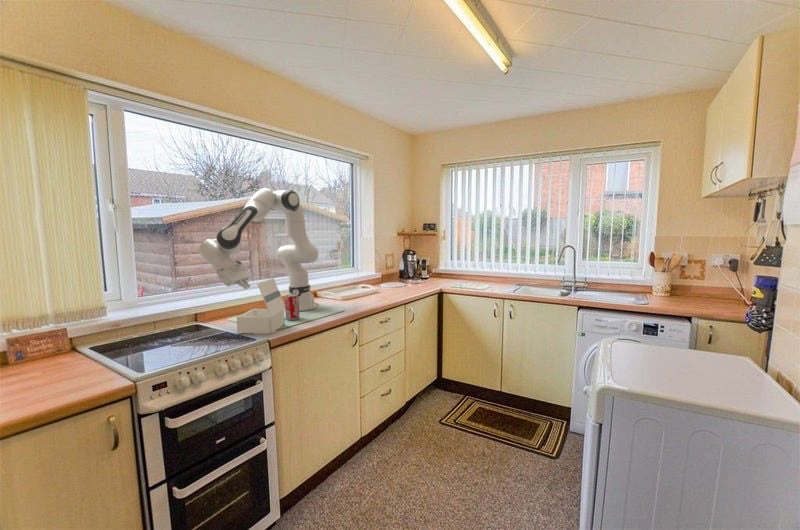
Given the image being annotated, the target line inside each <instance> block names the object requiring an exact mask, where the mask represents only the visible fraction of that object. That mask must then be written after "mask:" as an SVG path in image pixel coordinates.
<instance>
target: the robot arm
mask: <svg viewBox="0 0 800 530" xmlns="http://www.w3.org/2000/svg"><path fill="white" fill-rule="evenodd" d="M270 211H283V214H284V222H285V233H286V236H287V237H288V238H289V239H291V240H292V242H293V243H294V244H286V245H282V246H280V247H278V249H277V252H276V253H277V254H276V255H277V258H278V260H279V261H280V262H282V264H283V265H284V266H285V268H286V271H287V274H288V280H289V282H288V283H289V286H288V292H289V293H288V294H287V295H289V294H297V296H298V299H299V312H302V311H304V312H305V311H309V310H310V311H311V310H315V309H316V308H317V306H318V304H319V303H318V301H315V298H314V297H315V296H314V295H313V293H312V292H311V284H309V273H308V271H307V270H306V269H304V268H303V266H302V265H301V264H310V263H314V262H316V261H317V260H318V258H319V250H318V248H317V247H316V246H315V245H314V244H312V243H311V241H310V240H309V237H308V236H307V235H308V234H307V231H306V221H305V213H304V210H303V206H302V204H300V197H299V195H298V193H297V192H296V191H294V190H291V189H287V190H286V189H279V190H275V191H273V190H271V189H270V188H267V187H263V188H261V189H260V188H259V190H258V191H257V192H255V193H254V194H253V195H252V196H251V198H250V199H249V200H248V202H247V203H246V204H245V206H244V207H243V209H242V210H241V211H240V212H239V213H238V214H237V216H235V218H234V219H233V220H232V221H231V222H230V223H229V224H228V225H226V226H224V227H222V228H221V229H219V231H218V232H217V234H216V238H214V239H205V240H204V241H203V242H202V243H201V244H200V245H199V247H198V253H199V254H200V256H201V257H202V258H203V260H204V261H206V262H207V263H208V264H209V265H211V266H212V267H213V269H214V270H215V271H216V274H217V276H218V279H219V280H220V281H221V282H222V283H223V284H224V286H227V287H231V286H234V285H238V286H240V287H242V288H243V289H244V290H248V289H250V288H251V285H250V283H249V282H248V281H250V280H251V279H252V277H253V274H252V272H251V271H250V270H249V269H248V268H247V267H246V266H245V265H243V263H242V261H240V260H236V259H233V257H235V256H237V255H238V254H239V253H240V252H241V250H242V242H241V241H242V233H243V232H244V231H245V229H246V228H247V227H248V226H249V224H250V223H252V222H255V223H257V222H261V221H263V220H264V219H265V218H266V217H267V216H268V214H269V213H270Z"/></svg>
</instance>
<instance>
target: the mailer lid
mask: <svg viewBox="0 0 800 530" xmlns="http://www.w3.org/2000/svg"><path fill="white" fill-rule="evenodd" d="M256 285H257V287H258V289H259V291H260V294H261V295H262V296H261V297H262V299H263V300H264V301H263V302H264V303H265V306H266V309H268V311H269V314H270V316H273V315H274V314H276V313H278V312H279V311H281V310H283V309H284V310H285V308H286V307H285V301H284V300H283V297H282V295H281V293H280V291H279V289H278V285H277V283H276V281H275V278H270V279H267V280H264V281H261V282H259V283H257V284H256Z"/></svg>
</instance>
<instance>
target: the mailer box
mask: <svg viewBox="0 0 800 530" xmlns="http://www.w3.org/2000/svg"><path fill="white" fill-rule="evenodd" d="M236 324H237V325H236V327H237V333H238V332H241V333H253V334H252V335H272V334H273V333H275V332H276V331H277V329H278V328H279V329H280V328H282V327H283V326H284V324H285V309H283V310H281V311H279V312H278V313H276V314H274V315H273V316H270V314H269V311H268V309H267V308H251V309H250V310H248V311H246V312H244V313H241V314H240V315H238V316H236ZM282 325H283V326H282ZM281 326H282V327H281ZM279 329H278V330H279Z"/></svg>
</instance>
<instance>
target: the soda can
mask: <svg viewBox="0 0 800 530" xmlns="http://www.w3.org/2000/svg"><path fill="white" fill-rule="evenodd" d="M288 294H289V293H288ZM288 294H286V295H285V297H284V305H285V307H286V308H285V309H284V314H285V319H286V320H287V319H288V320H287V321H295V320H294V319H296V320H298V319H299V318H300V311H299V299H298V296H297V294H289V295H288Z"/></svg>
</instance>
